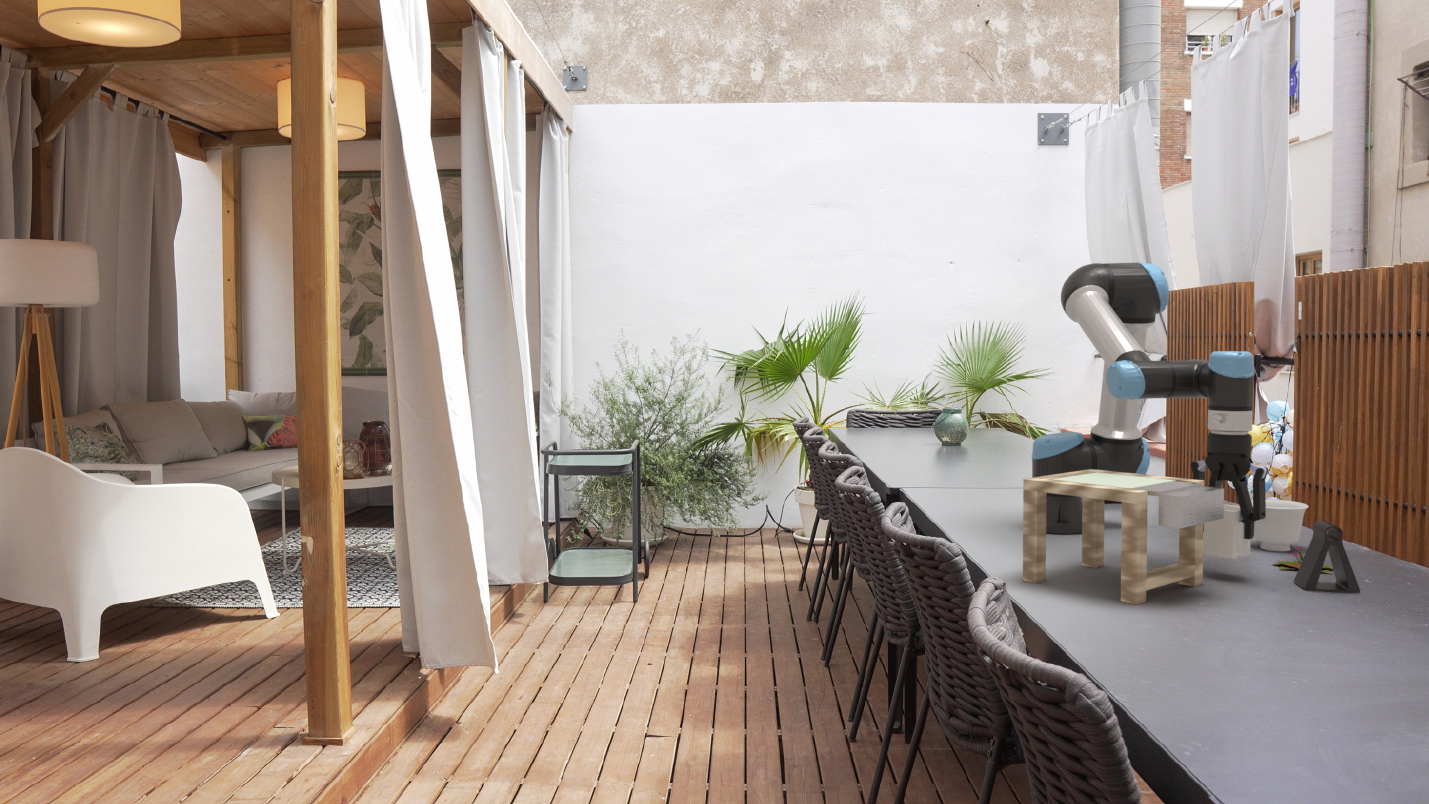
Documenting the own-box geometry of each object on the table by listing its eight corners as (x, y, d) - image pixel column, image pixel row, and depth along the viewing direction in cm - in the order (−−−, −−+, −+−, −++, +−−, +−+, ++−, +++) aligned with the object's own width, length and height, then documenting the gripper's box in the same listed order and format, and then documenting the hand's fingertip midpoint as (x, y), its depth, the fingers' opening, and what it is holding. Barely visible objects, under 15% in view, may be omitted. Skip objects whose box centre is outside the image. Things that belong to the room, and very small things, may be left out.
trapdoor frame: (1022, 580, 186) (1023, 479, 185) (1090, 563, 200) (1091, 469, 199) (1137, 604, 168) (1138, 492, 167) (1202, 584, 182) (1204, 480, 181)
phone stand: (1347, 585, 180) (1349, 521, 180) (1360, 593, 174) (1362, 526, 174) (1293, 582, 182) (1294, 519, 182) (1304, 590, 177) (1305, 525, 176)
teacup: (1284, 541, 221) (1285, 497, 220) (1318, 555, 206) (1319, 508, 206) (1229, 540, 222) (1229, 497, 222) (1258, 554, 207) (1259, 507, 207)
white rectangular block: (1203, 554, 187) (1204, 507, 186) (1220, 548, 191) (1221, 503, 191) (1232, 559, 183) (1234, 511, 182) (1250, 553, 187) (1251, 507, 186)
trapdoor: (1224, 518, 175) (1225, 485, 174) (1179, 528, 165) (1180, 494, 165) (1097, 501, 195) (1097, 472, 194) (1050, 510, 185) (1050, 479, 185)
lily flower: (1270, 573, 192) (1270, 550, 192) (1268, 561, 203) (1268, 539, 202) (1342, 580, 186) (1342, 556, 186) (1336, 567, 197) (1336, 544, 197)
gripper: (1171, 430, 190) (1169, 547, 192) (1272, 437, 176) (1268, 564, 177) (1190, 427, 195) (1188, 542, 196) (1290, 434, 180) (1286, 558, 182)
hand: (1226, 552), depth 187 cm, fingers closed on white rectangular block, 5 cm apart
